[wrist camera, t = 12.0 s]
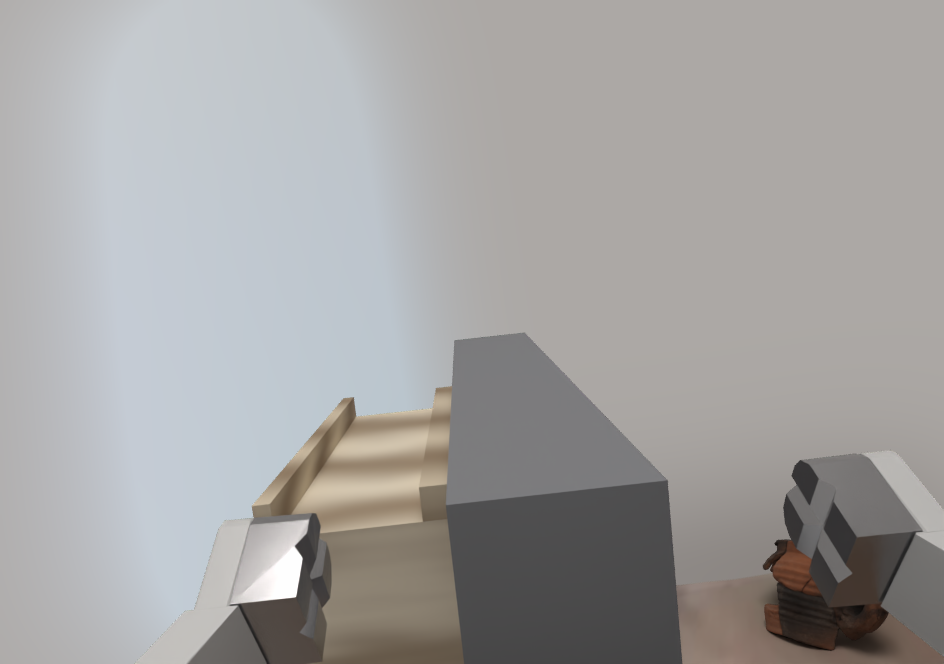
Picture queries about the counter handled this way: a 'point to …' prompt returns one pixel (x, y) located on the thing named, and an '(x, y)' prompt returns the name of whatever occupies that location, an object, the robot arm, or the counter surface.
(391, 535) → the duct stand
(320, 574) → the robot arm
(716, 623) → the counter surface
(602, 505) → the dark gray block
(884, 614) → the pottery mug
